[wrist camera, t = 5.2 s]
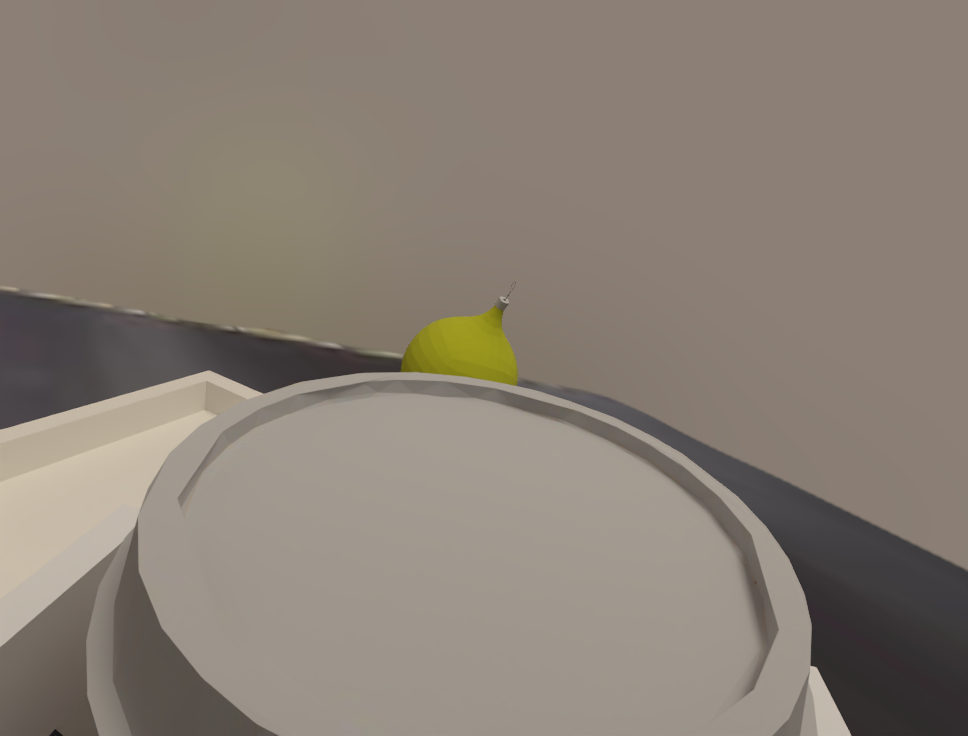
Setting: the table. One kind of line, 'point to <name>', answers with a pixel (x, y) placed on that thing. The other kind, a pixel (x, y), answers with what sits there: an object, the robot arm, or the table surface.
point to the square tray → (93, 474)
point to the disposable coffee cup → (443, 577)
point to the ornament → (464, 348)
